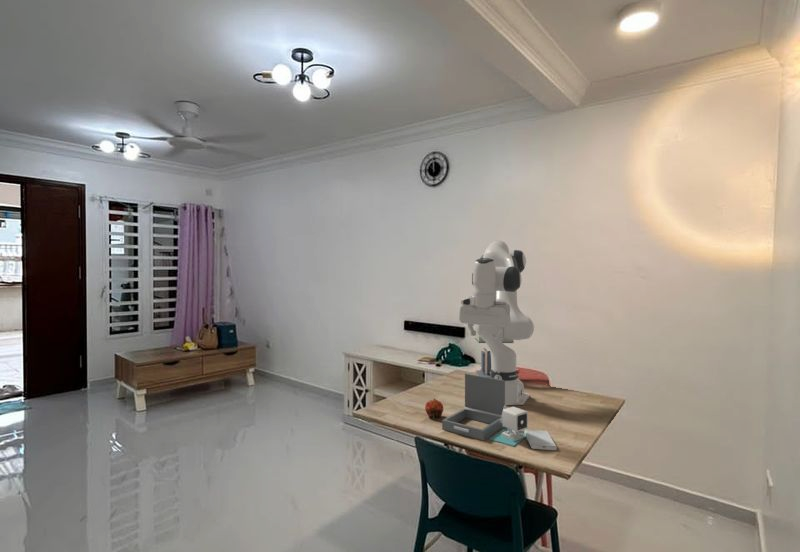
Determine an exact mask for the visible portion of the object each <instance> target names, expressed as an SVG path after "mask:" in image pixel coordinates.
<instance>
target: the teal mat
mask: <svg viewBox="0 0 800 552" xmlns="http://www.w3.org/2000/svg"><path fill="white" fill-rule="evenodd" d="M507 431H509V430H508V428H503V429H502V430H499V432H496V434H494V435H493V436H492V437H490V438H489V441H492V442H495V443H499V444H501V445H502V444H503V445H507V446H509V447H515V446H517V445H518V444H519V443H520V442H522V441H523V440H524V439H525V438H526V436H525V434H524V433H523V432H520V433H521V434H523V438H522V439H519V440H516V441H511V440H509V439H506V438H504V437H502V433H503V432H507Z"/></svg>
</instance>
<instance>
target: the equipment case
mask: <svg viewBox="0 0 800 552" xmlns="http://www.w3.org/2000/svg"><path fill="white" fill-rule="evenodd" d="M506 407H507V405H505V380H500V379H494V378H488V377H483V376H479V375H478V374H477V375H476V374H471V373H464V408H463V409H460V410H459V411H457V412H454V413H453V414H452V415H449V416H447V417H445V418H444V419H442V421H441V423H442V424H441V429H442V430H443V431H447V432H450V433H454V434H458V435H462V436H465V437H468V438H472V439H476V440H479V441H482V442H484V441H485V440H486V439H488V438H489V437H491V436H492V435H495V433H498V431H501V429H502V428H504V427H503V425H502V415H503V409H506ZM465 419H468V420H472V421H476V420H477V422H480V423H484V422H485V423H484V424H488V425H486V426H485V427H483V428H479V427H474V426H471V425H467V424H463V423H459V422H461V421H463V420H465Z"/></svg>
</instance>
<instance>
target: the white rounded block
mask: <svg viewBox="0 0 800 552" xmlns="http://www.w3.org/2000/svg"><path fill="white" fill-rule="evenodd" d="M502 425H503V427H502V428H505V429H508V430H509V431H507V432H503V433H502V437H504V438H506V439H509V440H511V441H516V440H519V439H522V438H523V434H524V433H523V434H521V433H522V431H524V430H528V428H529V411H528V410H524V409H522V408H519V407H515V406H510V407H507V408H505V409H503V415H502Z"/></svg>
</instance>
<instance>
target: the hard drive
mask: <svg viewBox="0 0 800 552" xmlns="http://www.w3.org/2000/svg"><path fill="white" fill-rule="evenodd" d="M523 431H524V433H523V434H525V436H526V437H525V438H526V441H528V444H529V446H530V447H531V449H532V450H546V451H557V448H558V447H557V445H556V443H555V442H554V439H553V438H552V436H551V435H550V434H549V432H548V430H540V429H539V430H537V429H525V430H523Z"/></svg>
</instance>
